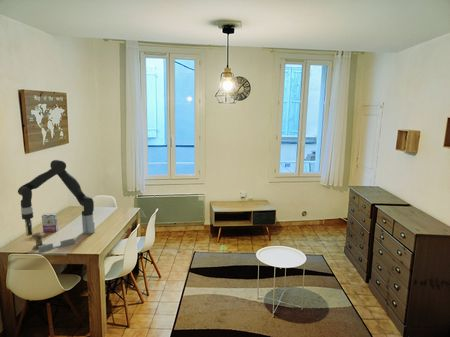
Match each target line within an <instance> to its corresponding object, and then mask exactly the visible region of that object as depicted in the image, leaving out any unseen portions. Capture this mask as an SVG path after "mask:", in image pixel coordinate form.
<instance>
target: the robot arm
mask: <svg viewBox="0 0 450 337" xmlns="http://www.w3.org/2000/svg"><path fill="white" fill-rule="evenodd" d="M66 168H67V163H66V162H65V161H63V160H60V159H54V160H52V161H51V162H50V169H49V170H47V171H45V172H43V173H41V174H39V175H37V176H35V177H34V178H33V179H31V181H29V182H27V183H25V184H23V185H21V186H20V187H19V188H18V189H17V193H18V195H20V196H22V197H21V198H22V199H21V200H20V214H21V219H22V220H24V222H25V224H24V225H26V227H27V230H28V234H29V235H30V234H32V235H33V231H32V232H31V229H32V230H33V228H32V224H33V223H32V219H33V218H34V210H33V204H32V198H33V191H32V190H36V189H38V188H40V187H41V186H42V185H44V184H45V182H48V180H50V179H51V178H53V177H55V176H58V177H59V178H60V180H61V181H62V182H63V184H64V185H65V187H66V188H67V189H68V190H69V192H70V193H71V194H73V196H74V197H75V199H76V201H77V202H78V204H79V205H80V206H81V207H83V210H82V211H81V222H82V223H81V224H82V234H84V235H89V234H94V233H95V232H96V231H95V230H96V229H95V222H94V211H95V210H94V209H95V206H94V204H95V203H94V200H93V198H92V197H90V196H87V195H86V194H85V193H84V192H83V190H82V189H81V188H82V187H81V185H80V183H79V182H78V181H77V179H76V178H75V177H74V176H73V175H72V174H70V173H69V172H68V171H67V170H66ZM26 227H25V228H26ZM30 236H31V235H30Z"/></svg>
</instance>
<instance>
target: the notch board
mask: <svg viewBox="0 0 450 337" xmlns="http://www.w3.org/2000/svg"><path fill="white" fill-rule="evenodd" d="M59 243H60V245H56V246H54V244H53V242H51V243H47V244H46V243H45V245H42V246H38V250H37V251H38V253H40V252H45V251H49V250H53V249H58V248H61V247H66V246H70V245H74V244H75V238H74V237H73V238H69V239H65V240H60V242H59Z"/></svg>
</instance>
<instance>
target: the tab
mask: <svg viewBox="0 0 450 337" xmlns="http://www.w3.org/2000/svg"><path fill="white" fill-rule="evenodd" d="M24 225H25V224H24ZM31 232H32V234H30V235H29V234H28V230H27V227H26V225H25V234H26V237H28V236H29V237H31V236H32V235H33V228H32V229H31Z"/></svg>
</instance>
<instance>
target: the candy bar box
mask: <svg viewBox="0 0 450 337" xmlns="http://www.w3.org/2000/svg"><path fill="white" fill-rule="evenodd" d="M41 221H42V232H43V233H57V232H58V231H59V225H58V214H57V213H56V212H54V213H43V214H42V215H41Z"/></svg>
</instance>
